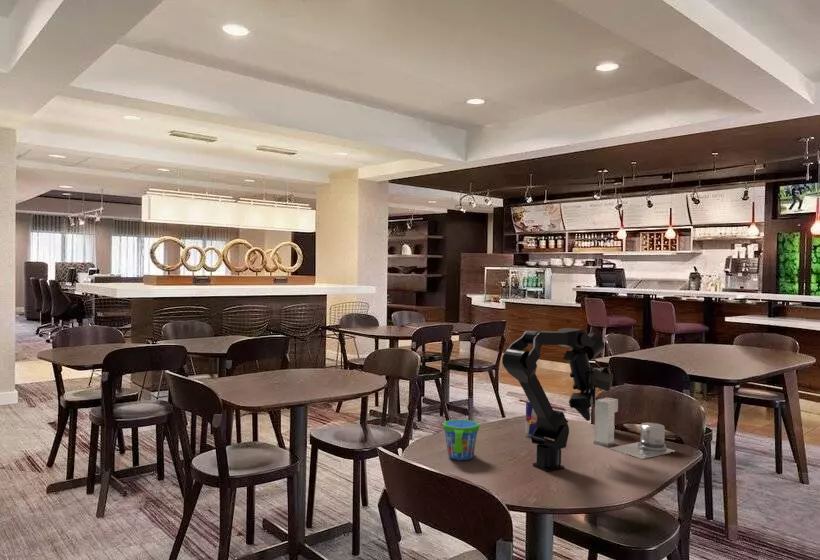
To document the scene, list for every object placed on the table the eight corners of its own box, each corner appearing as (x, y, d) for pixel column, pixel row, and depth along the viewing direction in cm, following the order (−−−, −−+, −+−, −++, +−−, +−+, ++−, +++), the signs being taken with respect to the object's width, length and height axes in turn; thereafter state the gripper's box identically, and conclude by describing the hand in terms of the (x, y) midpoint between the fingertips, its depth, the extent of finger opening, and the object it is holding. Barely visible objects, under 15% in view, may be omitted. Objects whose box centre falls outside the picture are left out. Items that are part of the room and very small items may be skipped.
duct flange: (642, 459, 178) (642, 434, 178) (610, 448, 188) (610, 425, 188) (677, 451, 186) (677, 428, 186) (644, 441, 196) (645, 419, 196)
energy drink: (523, 437, 200) (524, 401, 200) (528, 433, 204) (528, 398, 204) (539, 439, 197) (539, 403, 197) (543, 435, 202) (544, 400, 202)
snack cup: (449, 448, 186) (449, 415, 186) (482, 451, 183) (483, 418, 183) (437, 463, 171) (437, 428, 171) (473, 467, 168) (473, 431, 168)
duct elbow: (607, 446, 190) (608, 403, 190) (593, 443, 194) (594, 400, 194) (618, 441, 196) (619, 399, 196) (604, 438, 199) (605, 397, 199)
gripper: (602, 381, 167) (613, 429, 171) (612, 350, 182) (622, 395, 186) (563, 383, 172) (575, 429, 176) (575, 353, 188) (586, 396, 192)
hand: (590, 411), depth 182 cm, fingers open, 9 cm apart
